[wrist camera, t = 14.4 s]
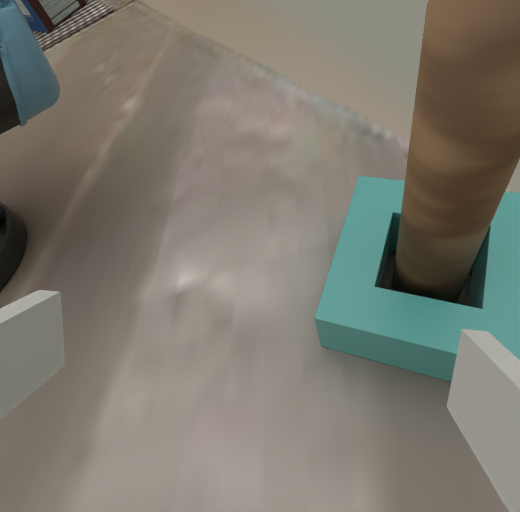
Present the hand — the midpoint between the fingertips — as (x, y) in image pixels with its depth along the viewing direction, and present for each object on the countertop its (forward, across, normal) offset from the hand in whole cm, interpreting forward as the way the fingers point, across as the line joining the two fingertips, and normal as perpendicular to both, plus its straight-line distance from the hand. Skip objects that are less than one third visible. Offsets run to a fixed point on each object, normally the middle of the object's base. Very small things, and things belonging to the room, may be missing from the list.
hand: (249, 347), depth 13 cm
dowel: (+16, +11, -3) cm, 20 cm away
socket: (+17, +11, -3) cm, 20 cm away
